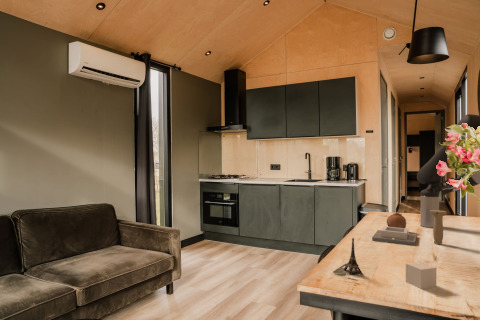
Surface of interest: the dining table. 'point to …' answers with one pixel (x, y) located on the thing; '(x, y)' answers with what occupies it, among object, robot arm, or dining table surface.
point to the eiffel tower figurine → (351, 264)
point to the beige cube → (421, 275)
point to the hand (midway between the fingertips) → (438, 192)
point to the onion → (396, 221)
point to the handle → (438, 225)
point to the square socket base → (395, 236)
